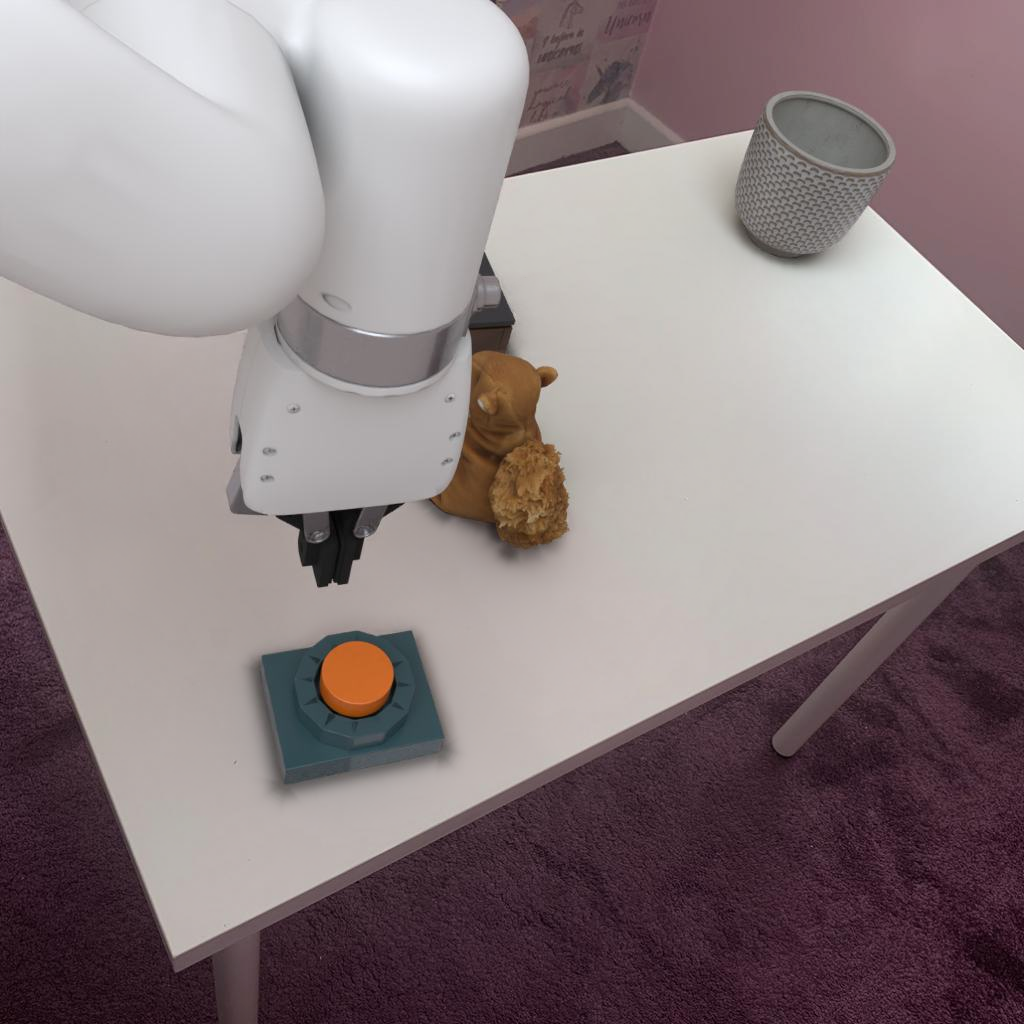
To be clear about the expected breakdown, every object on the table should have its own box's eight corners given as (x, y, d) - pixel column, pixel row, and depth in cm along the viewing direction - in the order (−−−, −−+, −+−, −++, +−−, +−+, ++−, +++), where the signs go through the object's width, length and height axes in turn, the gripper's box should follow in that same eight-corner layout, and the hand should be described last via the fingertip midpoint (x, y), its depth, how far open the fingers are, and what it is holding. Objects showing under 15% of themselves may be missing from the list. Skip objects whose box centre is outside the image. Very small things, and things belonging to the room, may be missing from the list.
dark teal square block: (283, 785, 65) (287, 757, 62) (259, 671, 69) (262, 640, 66) (439, 752, 68) (450, 724, 65) (407, 646, 73) (416, 615, 69)
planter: (689, 211, 112) (735, 101, 102) (775, 185, 119) (826, 80, 109) (778, 294, 107) (836, 186, 97) (862, 261, 114) (925, 157, 104)
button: (327, 723, 64) (330, 710, 63) (312, 661, 66) (314, 646, 65) (398, 710, 65) (401, 696, 64) (380, 649, 68) (384, 635, 66)
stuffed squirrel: (500, 422, 87) (538, 301, 77) (596, 550, 81) (651, 438, 71) (394, 456, 83) (420, 333, 72) (488, 595, 77) (530, 482, 66)
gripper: (515, 241, 47) (440, 495, 61) (167, 246, 42) (171, 523, 56) (571, 361, 43) (477, 603, 57) (194, 383, 38) (191, 645, 52)
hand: (326, 563), depth 56 cm, fingers closed
